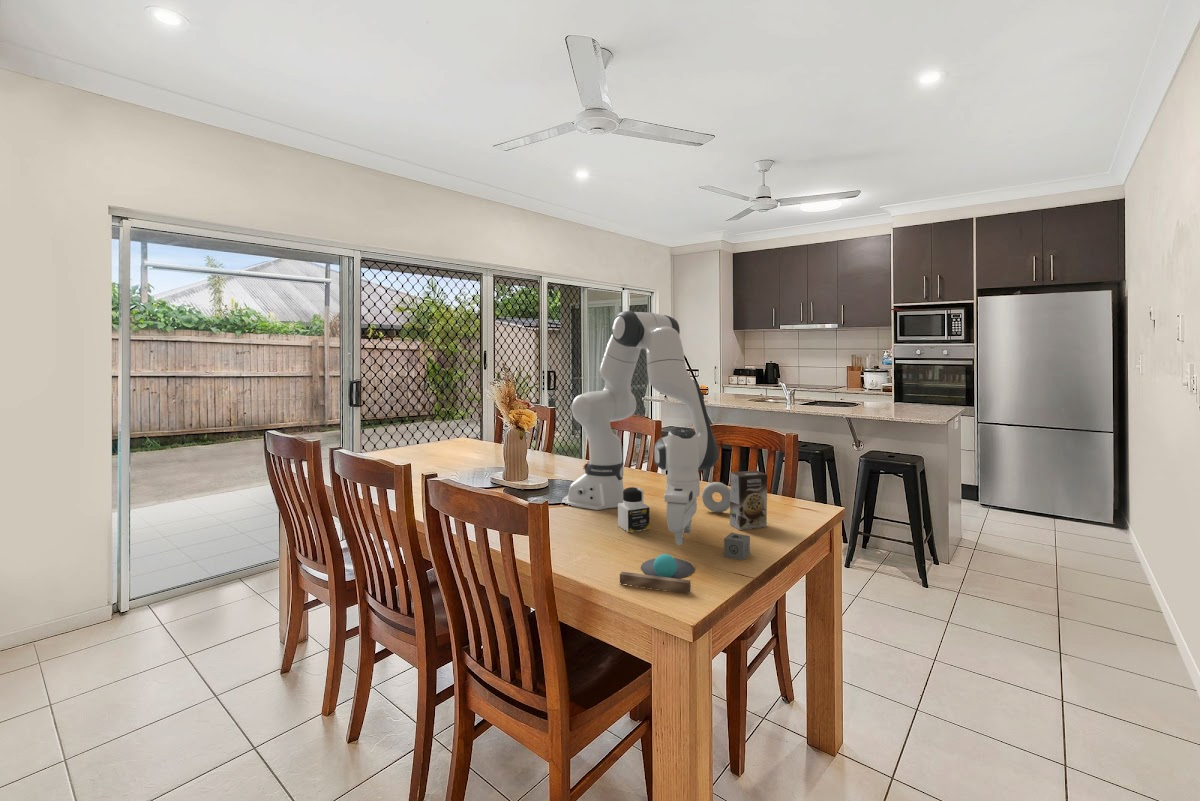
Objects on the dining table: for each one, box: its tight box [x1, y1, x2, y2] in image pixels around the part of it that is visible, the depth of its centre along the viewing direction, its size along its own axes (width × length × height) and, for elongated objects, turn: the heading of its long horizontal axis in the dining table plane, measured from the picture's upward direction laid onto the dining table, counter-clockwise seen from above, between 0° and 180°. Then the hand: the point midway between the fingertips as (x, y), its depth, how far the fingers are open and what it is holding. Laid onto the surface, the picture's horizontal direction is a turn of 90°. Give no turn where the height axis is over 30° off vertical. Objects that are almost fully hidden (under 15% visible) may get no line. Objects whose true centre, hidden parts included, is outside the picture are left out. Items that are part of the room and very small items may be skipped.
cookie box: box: [729, 470, 768, 531], centre depth 172 cm, size 9×6×16 cm
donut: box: [701, 481, 730, 514], centre depth 187 cm, size 10×4×10 cm, turn 64°
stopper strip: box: [619, 571, 691, 595], centre depth 131 cm, size 16×2×2 cm, turn 70°
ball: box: [654, 553, 677, 578], centre depth 136 cm, size 6×6×6 cm
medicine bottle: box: [617, 486, 650, 533], centre depth 173 cm, size 7×7×12 cm
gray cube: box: [723, 532, 751, 561], centre depth 149 cm, size 5×5×5 cm
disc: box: [640, 557, 695, 579], centre depth 142 cm, size 13×13×1 cm
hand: (683, 538), depth 159 cm, fingers open, 8 cm apart
